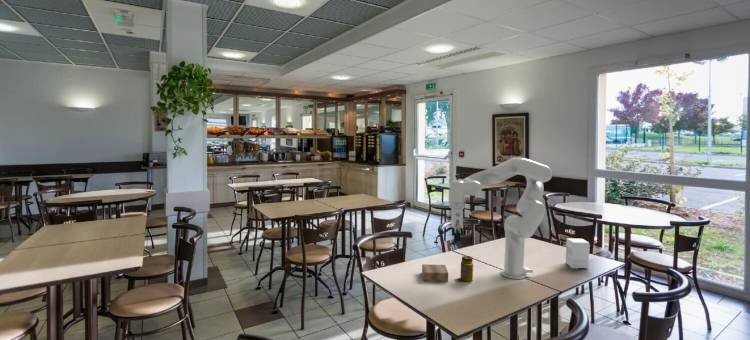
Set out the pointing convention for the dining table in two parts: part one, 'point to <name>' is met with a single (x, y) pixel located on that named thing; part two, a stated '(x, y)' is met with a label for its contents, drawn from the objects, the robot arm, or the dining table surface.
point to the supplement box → (577, 253)
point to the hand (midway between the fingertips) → (456, 238)
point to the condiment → (466, 270)
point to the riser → (434, 273)
